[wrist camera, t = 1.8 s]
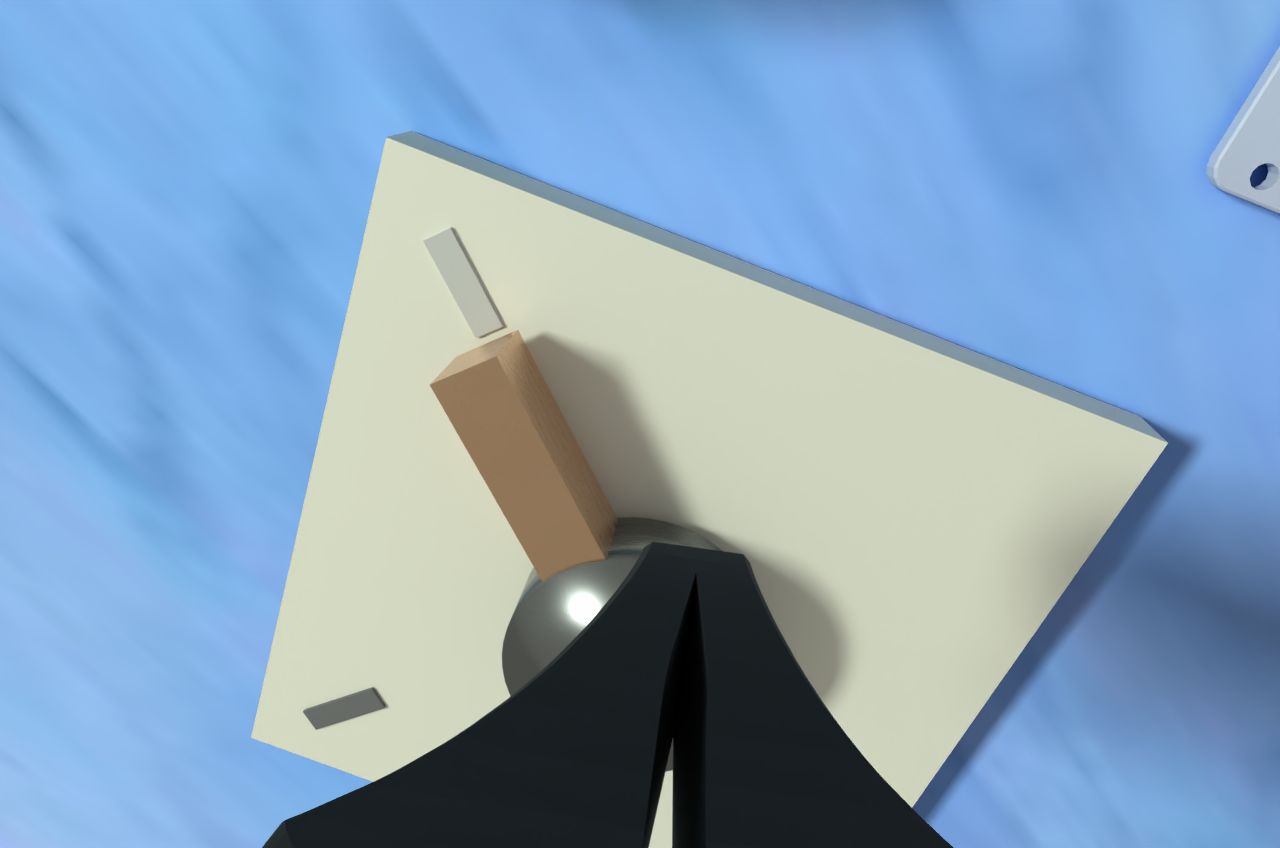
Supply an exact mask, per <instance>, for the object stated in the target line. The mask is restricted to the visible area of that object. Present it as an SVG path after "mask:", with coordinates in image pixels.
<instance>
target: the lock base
mask: <svg viewBox="0 0 1280 848" xmlns="http://www.w3.org/2000/svg"><path fill="white" fill-rule="evenodd" d="M516 330H518V331H519V332H520V334H521V336H522V338H523V340H524V342H525V344H526V346H527V348H528V350H529V352H530V353H531V355H532V357H533V359H534V361H535V363H536V365H537V367H538V369H539V371H540V373H541V374H542V376H543V378H544V380H545V382H546V384H547V386H548V388H549V390H550V392H551V394H552V395H553V397H554V399H555V401H556V403H557V405H558V407H559V409H560V411H561V413H562V415H563V416H564V418H565V420H566V422H567V424H568V426H569V428H570V430H571V432H572V434H573V436H574V437H575V439H576V441H577V443H578V445H579V447H580V449H581V451H582V453H583V455H584V457H585V458H586V460H587V462H588V464H589V466H590V468H591V470H592V472H593V474H594V476H595V478H596V479H597V481H598V483H599V485H600V487H601V489H602V491H603V493H604V495H605V497H606V499H607V500H608V502H609V504H610V506H611V508H612V510H613V512H614V514H615V516H616V518H629V517H636V518H649V519H655V520H660V521H665V522H669V523H672V524H675V525H678V526H681V527H684V528H686V529H688V530H690V531H693V532H695V533H697V534H699V535H700V536H702V537H704V538H706V539H707V540H709V541H711V542H712V543H713V544H714V545H716V546H717V547H718V548H720V549H721V550H722V551H724V552H732V553H739V554H744V556H745V557H746V558H747V559H748V561H749V562H750V564H751V567H752V570H753V573H754V576H755V578H756V581H757V583H758V586H759V588H760V591H761V593H762V595H763V597H764V600H765V602H766V604H767V606H768V608H769V610H770V612H771V614H772V616H773V618H774V620H775V622H776V624H777V626H778V628H779V630H780V632H781V634H782V635H783V637H784V639H785V641H786V643H787V644H788V646H789V648H790V650H791V652H792V654H793V655H794V657H795V659H796V661H797V662H798V664H799V665H800V667H801V669H802V670H803V672H804V674H805V675H806V677H807V678H808V680H809V682H810V683H811V685H812V686H813V688H814V689H815V691H816V692H817V694H818V695H819V697H820V698H821V700H822V701H823V703H824V704H825V706H826V707H827V709H828V710H829V711H830V713H831V714H832V716H833V717H834V718H835V720H836V721H837V723H838V724H839V725H840V727H841V728H842V729H843V731H844V732H845V733H846V734H847V736H848V737H849V738H850V739H851V741H852V742H853V743H854V745H855V746H856V747H857V748H858V750H859V751H860V752H861V753H862V755H863V756H864V757H865V758H866V759H867V761H868V762H869V763H870V764H871V765H872V766H873V768H874V769H875V770H876V771H877V772H878V773H879V774H880V775H881V777H882V778H883V779H884V780H885V781H886V782H887V783H888V784H889V785H890V786H891V787H892V788H893V789H894V790H895V791H896V792H897V793H898V794H899V795H900V796H901V797H902V798H903V799H904V800H905V801H906V802H907V803H908V804H909V805H910V807H911V808H912V807H913V806H914V804H915V803H916V801H917V800H918V799H919V797H920V796H921V794H922V793H923V792H924V790H925V789H926V787H927V786H928V784H929V783H930V782H931V780H932V779H933V777H934V776H935V774H936V773H937V772H938V770H939V769H940V767H941V766H942V764H943V763H944V762H945V760H946V759H947V757H948V756H949V754H950V753H951V752H952V750H953V749H954V747H955V746H956V745H957V743H958V742H959V740H960V739H961V737H962V736H963V735H964V733H965V732H966V730H967V729H968V727H969V726H970V725H971V723H972V722H973V720H974V719H975V717H976V716H977V715H978V713H979V712H980V710H981V709H982V707H983V706H984V705H985V703H986V702H987V700H988V699H989V698H990V696H991V695H992V693H993V692H994V690H995V689H996V688H997V686H998V685H999V683H1000V682H1001V680H1002V679H1003V678H1004V676H1005V675H1006V673H1007V672H1008V670H1009V669H1010V668H1011V666H1012V665H1013V663H1014V662H1015V660H1016V659H1017V658H1018V656H1019V655H1020V653H1021V652H1022V651H1023V649H1024V648H1025V646H1026V645H1027V643H1028V642H1029V641H1030V639H1031V638H1032V636H1033V635H1034V633H1035V632H1036V631H1037V629H1038V628H1039V626H1040V625H1041V623H1042V622H1043V621H1044V619H1045V618H1046V616H1047V615H1048V613H1049V612H1050V611H1051V609H1052V608H1053V606H1054V605H1055V604H1056V602H1057V601H1058V599H1059V598H1060V596H1061V595H1062V594H1063V592H1064V591H1065V589H1066V588H1067V586H1068V585H1069V584H1070V582H1071V581H1072V579H1073V578H1074V576H1075V575H1076V574H1077V572H1078V571H1079V569H1080V568H1081V566H1082V565H1083V564H1084V562H1085V561H1086V559H1087V558H1088V557H1089V555H1090V554H1091V552H1092V551H1093V549H1094V548H1095V547H1096V545H1097V544H1098V542H1099V541H1100V539H1101V538H1102V537H1103V535H1104V534H1105V532H1106V531H1107V529H1108V528H1109V527H1110V525H1111V524H1112V522H1113V521H1114V519H1115V518H1116V517H1117V515H1118V514H1119V512H1120V511H1121V510H1122V508H1123V507H1124V505H1125V504H1126V502H1127V501H1128V500H1129V498H1130V497H1131V495H1132V494H1133V492H1134V491H1135V490H1136V488H1137V487H1138V485H1139V484H1140V482H1141V481H1142V480H1143V478H1144V477H1145V475H1146V474H1147V472H1148V471H1149V470H1150V468H1151V467H1152V465H1153V464H1154V463H1155V461H1156V460H1157V458H1158V457H1159V455H1160V454H1161V453H1162V451H1163V450H1164V448H1165V447H1166V445H1167V444H1168V442H1167V441H1166V440H1164V439H1163V438H1162V437H1161V436H1160V435H1159V434H1158V433H1157V432H1156V431H1155V430H1154V429H1153V428H1152V427H1151V426H1150V425H1149V424H1148V423H1147V422H1145V421H1144V420H1143V419H1142V418H1141V417H1140V416H1138V415H1135V414H1133V413H1130V412H1128V411H1125V410H1123V409H1120V408H1117V407H1115V406H1112V405H1110V404H1107V403H1105V402H1102V401H1100V400H1097V399H1094V398H1092V397H1089V396H1087V395H1084V394H1082V393H1079V392H1077V391H1074V390H1071V389H1069V388H1066V387H1064V386H1061V385H1059V384H1056V383H1054V382H1051V381H1049V380H1046V379H1043V378H1041V377H1038V376H1036V375H1033V374H1031V373H1028V372H1026V371H1023V370H1020V369H1018V368H1015V367H1013V366H1010V365H1008V364H1005V363H1003V362H1000V361H997V360H995V359H992V358H990V357H987V356H985V355H982V354H980V353H977V352H974V351H972V350H969V349H967V348H964V347H962V346H959V345H957V344H954V343H952V342H949V341H946V340H944V339H941V338H939V337H936V336H934V335H931V334H929V333H926V332H923V331H921V330H918V329H916V328H913V327H911V326H908V325H906V324H903V323H900V322H898V321H895V320H893V319H890V318H888V317H885V316H883V315H880V314H877V313H875V312H872V311H870V310H867V309H865V308H862V307H860V306H857V305H855V304H852V303H849V302H847V301H844V300H842V299H839V298H837V297H834V296H832V295H829V294H826V293H824V292H821V291H819V290H816V289H814V288H811V287H809V286H806V285H803V284H801V283H798V282H796V281H793V280H791V279H788V278H786V277H783V276H780V275H778V274H775V273H773V272H770V271H768V270H765V269H763V268H760V267H757V266H755V265H752V264H750V263H747V262H745V261H742V260H740V259H737V258H735V257H732V256H729V255H727V254H724V253H722V252H719V251H717V250H714V249H712V248H709V247H706V246H704V245H701V244H699V243H696V242H694V241H691V240H689V239H686V238H683V237H681V236H678V235H676V234H673V233H671V232H668V231H666V230H663V229H660V228H658V227H655V226H653V225H650V224H648V223H645V222H643V221H640V220H638V219H635V218H632V217H630V216H627V215H625V214H622V213H620V212H617V211H615V210H612V209H609V208H607V207H604V206H602V205H599V204H597V203H594V202H592V201H589V200H586V199H584V198H581V197H579V196H576V195H574V194H571V193H569V192H566V191H563V190H561V189H558V188H556V187H553V186H551V185H548V184H546V183H543V182H541V181H538V180H535V179H533V178H530V177H528V176H525V175H523V174H520V173H518V172H515V171H512V170H510V169H507V168H505V167H502V166H500V165H497V164H495V163H492V162H489V161H487V160H484V159H482V158H479V157H477V156H474V155H472V154H469V153H466V152H464V151H461V150H459V149H456V148H454V147H451V146H449V145H446V144H444V143H441V142H438V141H436V140H433V139H431V138H428V137H426V136H423V135H421V134H418V133H415V132H413V131H410V132H406V133H402V134H398V135H394V136H390V137H386V141H385V145H384V150H383V154H382V159H381V163H380V168H379V172H378V177H377V181H376V185H375V190H374V194H373V199H372V203H371V208H370V212H369V217H368V221H367V225H366V230H365V234H364V239H363V243H362V248H361V252H360V257H359V261H358V265H357V270H356V274H355V279H354V283H353V288H352V292H351V297H350V301H349V305H348V310H347V314H346V319H345V323H344V328H343V332H342V337H341V341H340V345H339V350H338V354H337V359H336V363H335V368H334V372H333V377H332V381H331V385H330V390H329V394H328V399H327V403H326V408H325V412H324V416H323V421H322V425H321V430H320V434H319V439H318V443H317V448H316V452H315V456H314V461H313V465H312V470H311V474H310V479H309V483H308V488H307V492H306V496H305V501H304V505H303V510H302V514H301V519H300V523H299V528H298V532H297V536H296V541H295V545H294V550H293V554H292V559H291V563H290V568H289V572H288V576H287V581H286V585H285V590H284V594H283V599H282V603H281V608H280V612H279V616H278V621H277V625H276V630H275V634H274V639H273V643H272V648H271V652H270V656H269V661H268V665H267V670H266V674H265V679H264V683H263V688H262V692H261V696H260V701H259V705H258V710H257V714H256V719H255V723H254V728H253V732H252V736H251V738H254V739H256V740H259V741H262V742H265V743H268V744H270V745H273V746H276V747H279V748H281V749H284V750H287V751H290V752H292V753H295V754H298V755H301V756H303V757H306V758H309V759H312V760H315V761H317V762H320V763H323V764H326V765H328V766H331V767H334V768H337V769H339V770H342V771H345V772H348V773H350V774H353V775H356V776H359V777H362V778H364V779H367V780H370V781H373V782H374V781H376V780H378V779H380V778H382V777H384V776H386V775H388V774H390V773H392V772H394V771H396V770H398V769H400V768H402V767H403V766H405V765H407V764H409V763H410V762H412V761H414V760H416V759H417V758H419V757H421V756H422V755H424V754H426V753H428V752H429V751H431V750H433V749H435V748H436V747H438V746H440V745H442V744H443V743H445V742H447V741H448V740H450V739H451V738H453V737H454V736H456V735H458V734H459V733H461V732H462V731H464V730H465V729H467V728H468V727H470V726H471V725H472V724H474V723H475V722H477V721H478V720H479V719H481V718H482V717H483V716H485V715H486V714H488V713H489V712H490V711H492V710H493V709H494V708H496V707H497V706H499V705H500V704H501V703H503V702H504V701H505V700H507V699H508V698H509V697H511V696H510V694H509V691H508V689H507V686H506V683H505V679H504V674H503V669H502V648H503V641H504V637H505V633H506V630H507V627H508V625H509V622H510V620H511V618H512V615H513V613H514V610H515V608H516V606H517V603H518V601H519V598H520V596H521V594H522V591H523V589H524V586H525V584H526V582H527V579H528V577H529V575H530V573H531V571H532V569H533V567H534V566H533V565H532V563H531V561H530V559H529V558H528V556H527V554H526V552H525V551H524V549H523V547H522V545H521V544H520V542H519V540H518V539H517V537H516V535H515V533H514V532H513V530H512V528H511V526H510V525H509V523H508V521H507V519H506V518H505V516H504V514H503V512H502V511H501V509H500V507H499V505H498V504H497V502H496V500H495V498H494V497H493V495H492V493H491V491H490V490H489V488H488V486H487V484H486V483H485V481H484V479H483V477H482V476H481V474H480V472H479V470H478V469H477V467H476V465H475V463H474V462H473V460H472V458H471V456H470V455H469V453H468V451H467V449H466V448H465V446H464V444H463V443H462V441H461V439H460V437H459V436H458V434H457V432H456V430H455V429H454V427H453V425H452V423H451V422H450V420H449V418H448V416H447V415H446V413H445V411H444V409H443V408H442V406H441V404H440V402H439V401H438V399H437V397H436V395H435V394H434V392H433V390H432V388H431V387H430V384H431V383H432V382H433V381H434V379H435V378H436V377H437V376H438V375H439V374H440V373H441V372H442V371H443V370H444V369H445V368H446V367H447V366H448V365H449V364H450V363H451V362H452V360H453V359H454V358H455V357H456V356H458V355H461V354H463V353H465V352H468V351H470V350H472V349H475V348H477V347H479V346H481V345H484V344H486V343H488V342H491V341H493V340H495V339H498V338H500V337H502V336H505V335H507V334H509V333H511V332H514V331H516ZM672 800H673V770H672V771H667V772H665V776H664V781H663V785H662V790H661V794H660V799H659V803H658V808H657V812H656V817H655V821H654V826H653V830H652V835H651V839H650V844H649V848H672Z"/></svg>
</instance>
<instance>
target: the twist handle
mask: <svg viewBox="0 0 1280 848" xmlns="http://www.w3.org/2000/svg"><path fill="white" fill-rule="evenodd" d="M430 387H431V388H432V390H433V392H434V394H435V395H436V397H437V399H438V401H439V402H440V404H441V406H442V408H443V409H444V411H445V413H446V415H447V416H448V418H449V420H450V422H451V423H452V425H453V427H454V429H455V430H456V432H457V434H458V436H459V437H460V439H461V441H462V443H463V444H464V446H465V448H466V449H467V451H468V453H469V455H470V456H471V458H472V460H473V462H474V463H475V465H476V467H477V469H478V470H479V472H480V474H481V476H482V477H483V479H484V481H485V483H486V484H487V486H488V488H489V490H490V491H491V493H492V495H493V497H494V498H495V500H496V502H497V504H498V505H499V507H500V509H501V511H502V512H503V514H504V516H505V518H506V519H507V521H508V523H509V525H510V526H511V528H512V530H513V532H514V533H515V535H516V537H517V539H518V540H519V542H520V544H521V545H522V547H523V549H524V551H525V552H526V554H527V556H528V558H529V559H530V561H531V563H532V565H533V566H534V567H533V569H532V571H531V573H530V575H529V577H528V579H527V582H526V584H525V586H524V589H523V591H522V594H521V596H520V598H519V601H518V603H517V606H516V608H515V610H514V613H513V615H512V618H511V620H510V622H509V625H508V627H507V630H506V633H505V637H504V641H503V648H502V669H503V674H504V679H505V683H506V686H507V689H508V691H509V694H510V696H512V695H513V694H514V693H515V692H517V691H518V690H519V689H520V688H522V687H523V686H524V685H525V684H526V683H528V682H529V681H530V680H531V679H532V678H534V677H535V676H536V675H537V674H538V673H539V672H540V671H542V670H543V669H544V668H545V667H546V666H547V665H548V664H549V663H550V662H551V661H552V660H554V659H555V658H556V657H557V656H558V655H559V654H560V653H561V652H562V651H563V650H564V649H565V648H566V646H567V645H568V644H569V643H570V642H571V641H572V640H573V639H574V638H575V637H576V636H577V635H578V634H579V633H580V632H581V631H582V630H583V629H584V628H585V627H586V626H587V625H588V624H589V623H590V622H591V620H592V619H593V618H594V617H595V616H596V615H597V613H598V612H599V611H600V610H601V609H602V607H603V606H604V605H605V604H606V603H607V601H608V600H609V599H610V598H611V596H612V595H613V594H614V593H615V592H616V590H617V589H618V588H619V586H620V585H621V584H622V582H623V581H624V579H625V578H626V577H627V575H628V574H629V572H630V571H631V569H632V568H633V566H634V565H635V563H636V562H637V560H638V558H639V556H640V555H641V553H642V550H643V548H644V547H646V546H647V545H649V544H650V543H652V542H660V543H667V544H674V545H682V546H689V547H696V548H703V549H710V550H717V551H722V550H721V549H720V548H718V547H717V546H716V545H714V544H713V543H712V542H711V541H709V540H707V539H706V538H704V537H702V536H700V535H699V534H697V533H695V532H693V531H690V530H688V529H686V528H684V527H681V526H678V525H675V524H672V523H669V522H665V521H660V520H655V519H649V518H636V517H629V518H616V516H615V514H614V512H613V510H612V508H611V506H610V504H609V502H608V500H607V499H606V497H605V495H604V493H603V491H602V489H601V487H600V485H599V483H598V481H597V479H596V478H595V476H594V474H593V472H592V470H591V468H590V466H589V464H588V462H587V460H586V458H585V457H584V455H583V453H582V451H581V449H580V447H579V445H578V443H577V441H576V439H575V437H574V436H573V434H572V432H571V430H570V428H569V426H568V424H567V422H566V420H565V418H564V416H563V415H562V413H561V411H560V409H559V407H558V405H557V403H556V401H555V399H554V397H553V395H552V394H551V392H550V390H549V388H548V386H547V384H546V382H545V380H544V378H543V376H542V374H541V373H540V371H539V369H538V367H537V365H536V363H535V361H534V359H533V357H532V355H531V353H530V352H529V350H528V348H527V346H526V344H525V342H524V340H523V338H522V336H521V334H520V332H519V331H518V330H516V331H514V332H511V333H509V334H507V335H505V336H502V337H500V338H498V339H495V340H493V341H491V342H488V343H486V344H484V345H481V346H479V347H477V348H475V349H472V350H470V351H468V352H465V353H463V354H461V355H458V356H456V357H455V358H454V359H453V360H452V362H451V363H450V364H449V365H448V366H447V367H446V368H445V369H444V370H443V371H442V372H441V373H440V374H439V375H438V376H437V377H436V378H435V379H434V381H433V382H432V383H431V384H430ZM672 770H673V740H672V744H671V749H670V754H669V758H668V763H667V767H666V772H667V771H672Z"/></svg>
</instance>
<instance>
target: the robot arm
mask: <svg viewBox="0 0 1280 848" xmlns="http://www.w3.org/2000/svg"><path fill="white" fill-rule="evenodd" d="M1262 164H1266V165H1267V167H1268V175H1267V177H1266V179H1265V180H1264V181H1263V182H1262V183H1261V184H1260V185H1258V186H1255V187H1252V186H1251V183H1250V177H1251V174H1252V172H1253V171H1254V170H1255V169H1256V168H1257V167H1258V166H1259V165H1262ZM1207 177H1208V179H1209V181H1210V183H1211V184H1212V185H1213V186H1214V187H1216V188H1217V189H1219V190H1222V191H1224V192H1227V193H1229V194H1232V195H1234V196H1237V197H1239V198H1242V199H1244V200H1247V201H1249V202H1251V203H1254V204H1256V205H1259V206H1261V207H1264V208H1266V209H1269V210H1271V211H1274V212H1276V213H1279V214H1280V46H1279V48H1278V50H1277V51H1276V53H1275V54H1274V56H1273V58H1272V59H1271V61H1270V62H1269V64H1268V66H1267V67H1266V69H1265V70H1264V72H1263V74H1262V75H1261V77H1260V78H1259V80H1258V82H1257V83H1256V85H1255V86H1254V88H1253V90H1252V91H1251V93H1250V94H1249V96H1248V98H1247V99H1246V101H1245V102H1244V104H1243V106H1242V107H1241V109H1240V110H1239V112H1238V114H1237V115H1236V117H1235V118H1234V120H1233V122H1232V123H1231V125H1230V126H1229V128H1228V130H1227V131H1226V133H1225V134H1224V136H1223V138H1222V139H1221V141H1220V142H1219V144H1218V146H1217V147H1216V149H1215V150H1214V152H1213V154H1212V155H1211V157H1210V159H1209V162H1208V164H1207ZM672 740H673V800H672V848H953V847H952V846H951V845H950V844H949V843H948V842H947V841H945V840H944V839H943V838H942V837H941V836H940V835H939V834H938V833H937V832H936V831H935V830H934V829H933V828H932V827H931V826H930V825H929V824H927V823H926V822H925V821H924V820H923V819H922V818H921V817H920V816H919V815H918V814H917V813H916V812H915V811H914V810H913V809H912V808H911V807H910V805H909V804H908V803H907V802H906V801H905V800H904V799H903V798H902V797H901V796H900V795H899V794H898V793H897V792H896V791H895V790H894V789H893V788H892V787H891V786H890V785H889V784H888V783H887V782H886V781H885V780H884V779H883V778H882V777H881V775H880V774H879V773H878V772H877V771H876V770H875V769H874V768H873V766H872V765H871V764H870V763H869V762H868V761H867V759H866V758H865V757H864V756H863V755H862V753H861V752H860V751H859V750H858V748H857V747H856V746H855V745H854V743H853V742H852V741H851V739H850V738H849V737H848V736H847V734H846V733H845V732H844V731H843V729H842V728H841V727H840V725H839V724H838V723H837V721H836V720H835V718H834V717H833V716H832V714H831V713H830V711H829V710H828V709H827V707H826V706H825V704H824V703H823V701H822V700H821V698H820V697H819V695H818V694H817V692H816V691H815V689H814V688H813V686H812V685H811V683H810V682H809V680H808V678H807V677H806V675H805V674H804V672H803V670H802V669H801V667H800V665H799V664H798V662H797V661H796V659H795V657H794V655H793V654H792V652H791V650H790V648H789V646H788V644H787V643H786V641H785V639H784V637H783V635H782V634H781V632H780V630H779V628H778V626H777V624H776V622H775V620H774V618H773V616H772V614H771V612H770V610H769V608H768V606H767V604H766V602H765V600H764V597H763V595H762V593H761V591H760V588H759V586H758V583H757V581H756V578H755V576H754V573H753V570H752V567H751V564H750V562H749V561H748V559H747V558H746V557H745V556H744V554H739V553H732V552H724V551H717V550H710V549H703V548H696V547H689V546H682V545H674V544H667V543H660V542H652V543H650V544H649V545H647V546H646V547H644V548H643V550H642V553H641V555H640V556H639V558H638V560H637V562H636V563H635V565H634V566H633V568H632V569H631V571H630V572H629V574H628V575H627V577H626V578H625V579H624V581H623V582H622V584H621V585H620V586H619V588H618V589H617V590H616V592H615V593H614V594H613V595H612V596H611V598H610V599H609V600H608V601H607V603H606V604H605V605H604V606H603V607H602V609H601V610H600V611H599V612H598V613H597V615H596V616H595V617H594V618H593V619H592V620H591V622H590V623H589V624H588V625H587V626H586V627H585V628H584V629H583V630H582V631H581V632H580V633H579V634H578V635H577V636H576V637H575V638H574V639H573V640H572V641H571V642H570V643H569V644H568V645H567V646H566V648H565V649H564V650H563V651H562V652H561V653H560V654H559V655H558V656H557V657H556V658H555V659H554V660H552V661H551V662H550V663H549V664H548V665H547V666H546V667H545V668H544V669H543V670H542V671H540V672H539V673H538V674H537V675H536V676H535V677H534V678H532V679H531V680H530V681H529V682H528V683H526V684H525V685H524V686H523V687H522V688H520V689H519V690H518V691H517V692H515V693H514V694H513V695H512V696H511V697H509V698H508V699H507V700H505V701H504V702H503V703H501V704H500V705H499V706H497V707H496V708H494V709H493V710H492V711H490V712H489V713H488V714H486V715H485V716H483V717H482V718H481V719H479V720H478V721H477V722H475V723H474V724H472V725H471V726H470V727H468V728H467V729H465V730H464V731H462V732H461V733H459V734H458V735H456V736H454V737H453V738H451V739H450V740H448V741H447V742H445V743H443V744H442V745H440V746H438V747H436V748H435V749H433V750H431V751H429V752H428V753H426V754H424V755H422V756H421V757H419V758H417V759H416V760H414V761H412V762H410V763H409V764H407V765H405V766H403V767H402V768H400V769H398V770H396V771H394V772H392V773H390V774H388V775H386V776H384V777H382V778H380V779H378V780H376V781H374V782H372V783H370V784H368V785H366V786H364V787H361V788H359V789H357V790H355V791H352V792H350V793H348V794H346V795H343V796H341V797H339V798H336V799H334V800H332V801H330V802H327V803H325V804H323V805H321V806H318V807H316V808H314V809H311V810H309V811H307V812H305V813H302V814H300V815H297V816H295V817H292V818H290V819H287V820H285V821H283V822H282V823H281V824H280V826H279V827H278V828H277V829H276V831H275V832H274V833H273V834H272V836H271V837H270V838H269V839H268V841H267V842H266V843H265V845H264V846H263V847H262V848H649V844H650V839H651V835H652V830H653V826H654V821H655V817H656V812H657V808H658V803H659V799H660V794H661V790H662V785H663V781H664V776H665V772H666V767H667V763H668V758H669V754H670V749H671V744H672Z"/></svg>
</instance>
